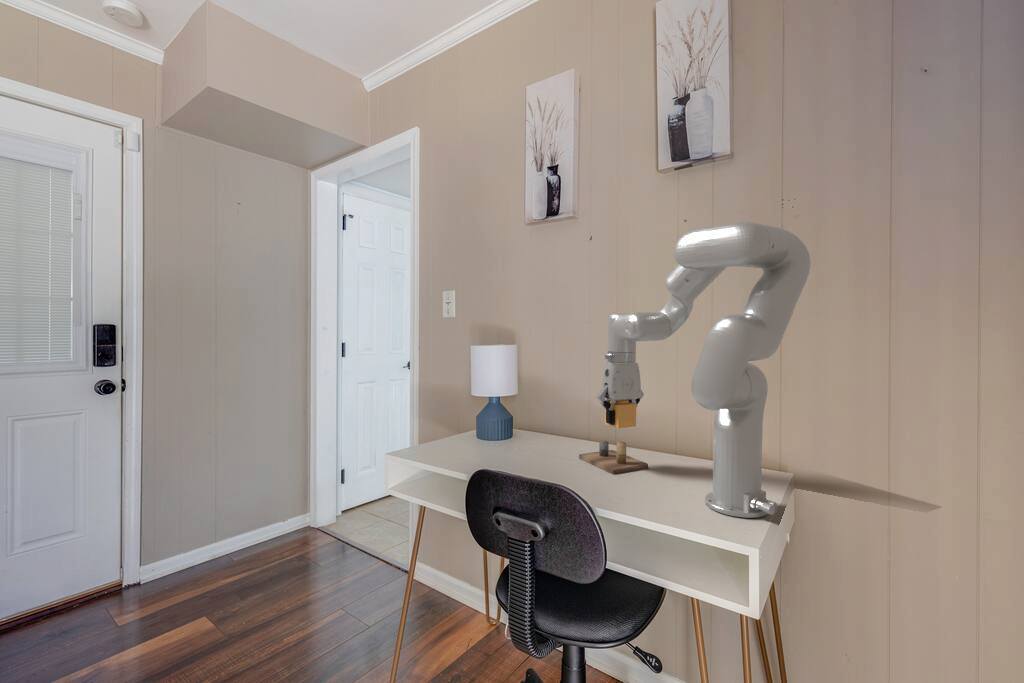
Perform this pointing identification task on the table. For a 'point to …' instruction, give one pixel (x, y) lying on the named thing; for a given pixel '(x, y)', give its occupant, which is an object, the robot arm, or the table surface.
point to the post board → (613, 459)
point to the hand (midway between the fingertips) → (620, 422)
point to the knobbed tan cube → (624, 414)
